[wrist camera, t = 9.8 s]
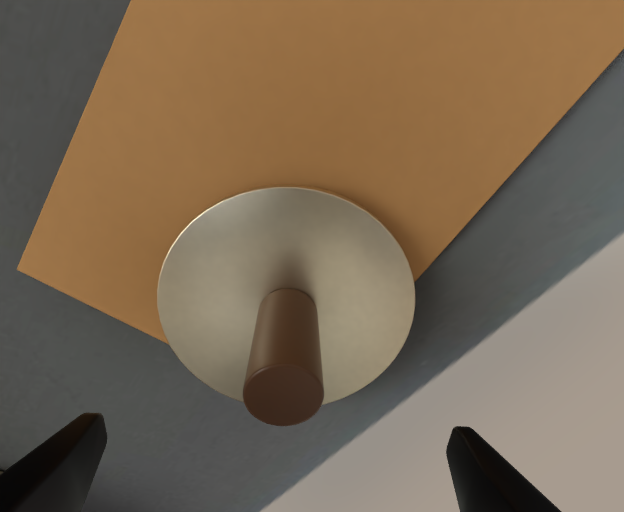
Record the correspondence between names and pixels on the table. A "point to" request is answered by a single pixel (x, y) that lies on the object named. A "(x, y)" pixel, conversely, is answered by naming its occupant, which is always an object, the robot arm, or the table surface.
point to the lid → (286, 299)
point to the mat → (306, 122)
